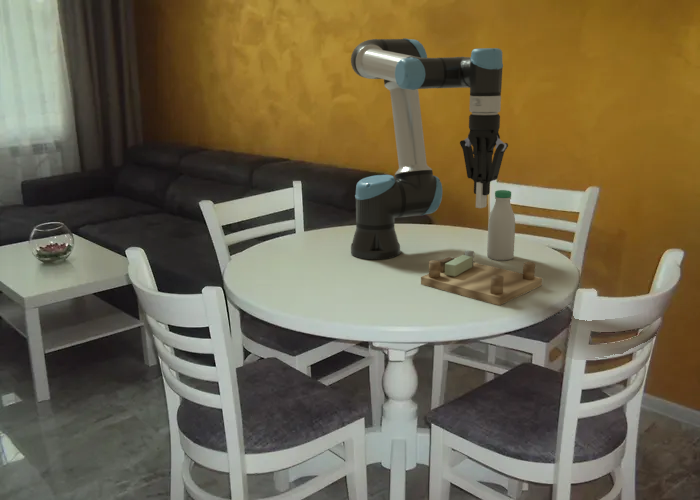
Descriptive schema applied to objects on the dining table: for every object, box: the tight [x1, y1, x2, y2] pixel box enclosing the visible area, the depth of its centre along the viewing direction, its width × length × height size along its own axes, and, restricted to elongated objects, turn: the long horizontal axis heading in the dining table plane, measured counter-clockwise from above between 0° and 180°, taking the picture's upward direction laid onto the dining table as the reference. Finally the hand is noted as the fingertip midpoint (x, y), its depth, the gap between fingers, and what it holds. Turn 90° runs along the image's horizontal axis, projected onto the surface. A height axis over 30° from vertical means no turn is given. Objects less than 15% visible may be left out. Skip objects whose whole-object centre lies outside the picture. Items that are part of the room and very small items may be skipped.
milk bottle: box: [486, 189, 516, 261], centre depth 197 cm, size 8×8×20 cm
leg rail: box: [445, 250, 475, 277], centre depth 181 cm, size 12×3×4 cm, turn 143°
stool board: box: [420, 256, 543, 306], centre depth 175 cm, size 24×20×6 cm
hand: (481, 207), depth 172 cm, fingers closed
